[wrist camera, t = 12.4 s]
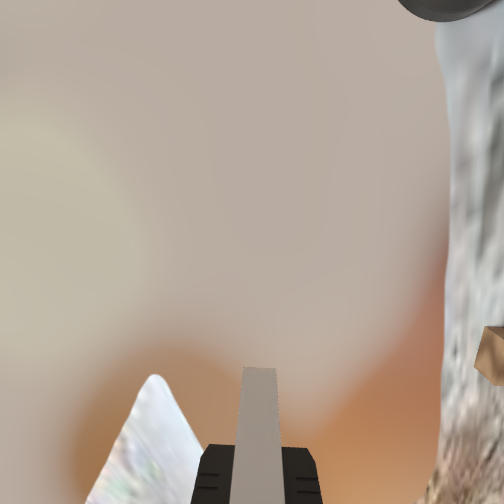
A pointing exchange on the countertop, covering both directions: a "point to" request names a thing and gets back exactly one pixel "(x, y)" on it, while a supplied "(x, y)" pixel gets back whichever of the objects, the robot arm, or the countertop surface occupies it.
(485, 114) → the countertop surface
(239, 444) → the robot arm
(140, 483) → the countertop surface
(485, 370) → the block
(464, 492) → the countertop surface
